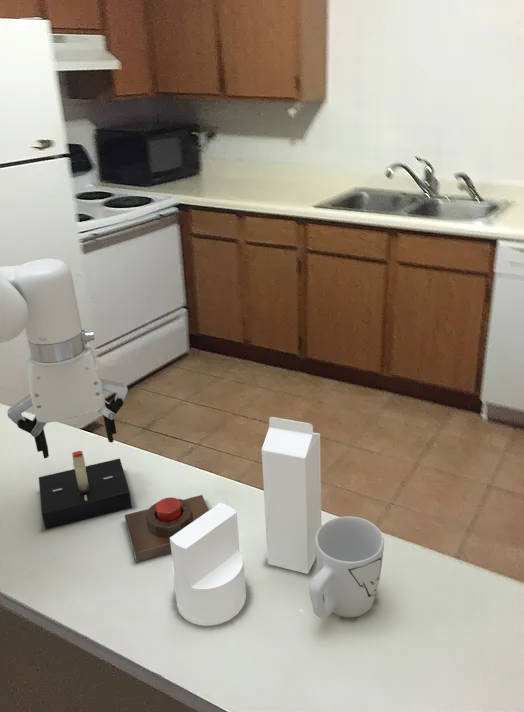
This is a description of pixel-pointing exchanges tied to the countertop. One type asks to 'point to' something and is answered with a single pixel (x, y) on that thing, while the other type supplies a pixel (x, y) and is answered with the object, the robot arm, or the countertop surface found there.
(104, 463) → the panel
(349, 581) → the mug
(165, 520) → the timer button
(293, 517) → the milk
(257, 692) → the countertop surface
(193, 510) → the brown button base
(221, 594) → the cylinder with rectangular tab
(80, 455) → the knob
